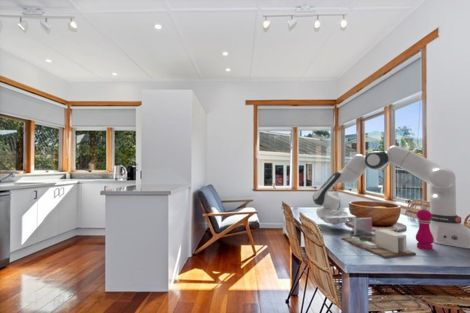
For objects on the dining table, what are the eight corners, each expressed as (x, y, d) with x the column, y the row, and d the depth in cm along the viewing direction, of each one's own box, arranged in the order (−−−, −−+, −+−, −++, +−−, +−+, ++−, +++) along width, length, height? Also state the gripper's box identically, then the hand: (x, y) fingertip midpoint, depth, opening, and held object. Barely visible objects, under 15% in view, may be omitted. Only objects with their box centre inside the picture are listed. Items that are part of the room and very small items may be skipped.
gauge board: (341, 239, 145) (341, 237, 146) (368, 237, 149) (368, 235, 149) (383, 258, 116) (383, 255, 116) (415, 255, 120) (415, 252, 120)
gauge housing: (375, 245, 132) (375, 229, 132) (386, 244, 133) (385, 229, 133) (395, 252, 120) (395, 236, 120) (406, 251, 121) (406, 235, 122)
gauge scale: (351, 240, 140) (351, 237, 140) (356, 239, 141) (356, 236, 141) (371, 248, 126) (371, 245, 127) (376, 247, 127) (376, 244, 127)
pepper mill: (412, 245, 134) (411, 205, 134) (425, 245, 134) (424, 205, 135) (423, 250, 127) (422, 208, 127) (437, 250, 127) (436, 207, 128)
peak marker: (359, 239, 134) (359, 236, 134) (364, 239, 135) (364, 235, 135) (360, 240, 133) (360, 236, 133) (366, 239, 134) (365, 236, 134)
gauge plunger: (347, 237, 143) (347, 218, 144) (370, 236, 146) (370, 217, 147) (374, 248, 124) (374, 227, 124) (400, 246, 127) (399, 225, 128)
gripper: (319, 212, 168) (331, 217, 155) (347, 211, 173) (362, 215, 159) (319, 222, 168) (331, 228, 155) (347, 221, 173) (362, 226, 159)
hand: (347, 221), depth 157 cm, fingers closed
